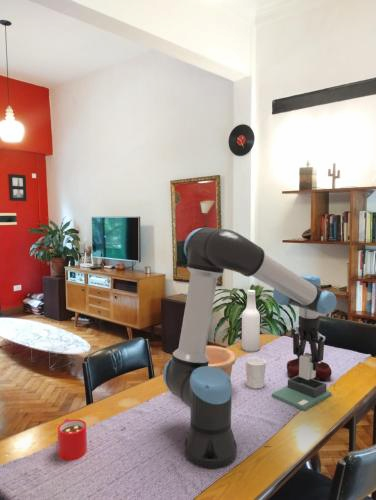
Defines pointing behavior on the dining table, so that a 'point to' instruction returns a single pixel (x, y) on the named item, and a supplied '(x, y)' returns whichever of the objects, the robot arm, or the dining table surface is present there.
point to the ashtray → (321, 372)
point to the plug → (305, 366)
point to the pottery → (220, 358)
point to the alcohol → (250, 324)
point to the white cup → (255, 372)
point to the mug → (72, 439)
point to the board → (302, 393)
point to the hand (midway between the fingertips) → (307, 375)
